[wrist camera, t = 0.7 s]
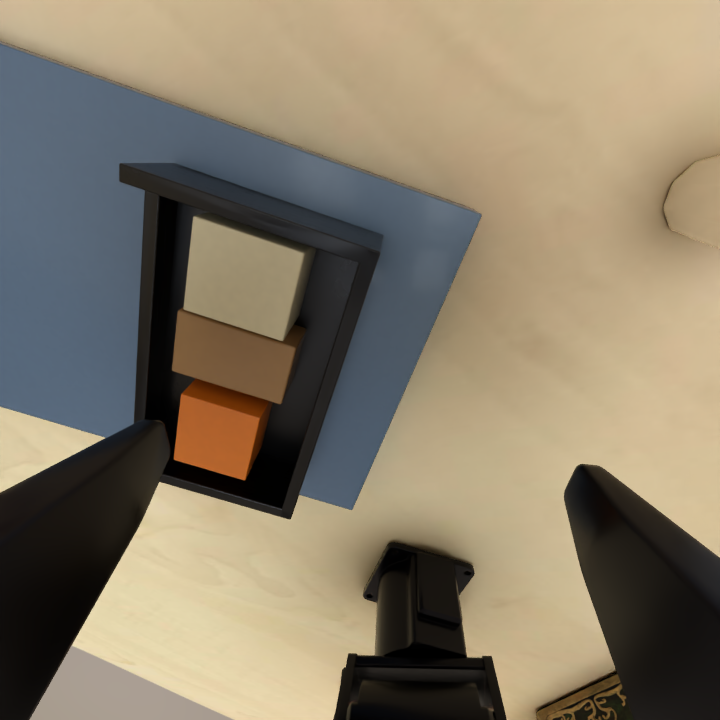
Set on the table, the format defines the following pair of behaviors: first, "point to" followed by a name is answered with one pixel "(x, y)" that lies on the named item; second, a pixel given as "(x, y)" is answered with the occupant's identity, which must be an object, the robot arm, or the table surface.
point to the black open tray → (241, 330)
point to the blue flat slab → (124, 252)
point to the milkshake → (696, 202)
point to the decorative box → (591, 704)
